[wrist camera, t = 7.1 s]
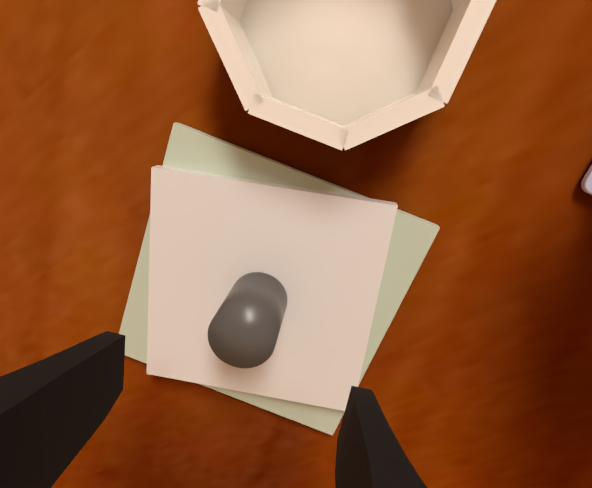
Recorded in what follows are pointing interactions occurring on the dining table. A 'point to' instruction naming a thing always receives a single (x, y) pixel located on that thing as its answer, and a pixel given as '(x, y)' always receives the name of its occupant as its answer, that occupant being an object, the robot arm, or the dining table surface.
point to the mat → (248, 165)
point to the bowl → (344, 60)
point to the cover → (262, 284)
